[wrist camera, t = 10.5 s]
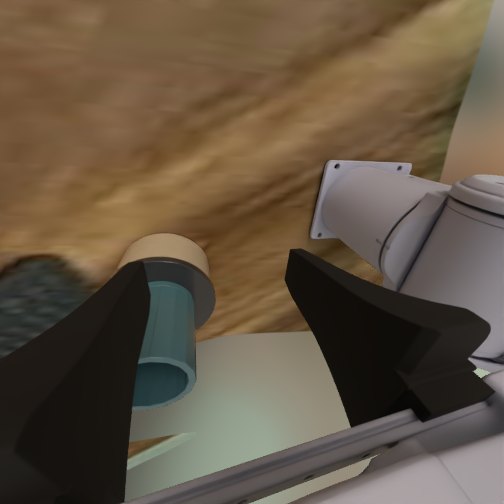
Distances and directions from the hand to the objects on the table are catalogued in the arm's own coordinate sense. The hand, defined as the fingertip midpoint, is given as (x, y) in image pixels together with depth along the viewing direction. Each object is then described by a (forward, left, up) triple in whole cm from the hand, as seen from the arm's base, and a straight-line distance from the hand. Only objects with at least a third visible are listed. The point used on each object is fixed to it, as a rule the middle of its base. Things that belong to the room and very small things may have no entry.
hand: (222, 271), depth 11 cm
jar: (+4, +7, -10) cm, 13 cm away
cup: (+4, +7, -5) cm, 10 cm away
